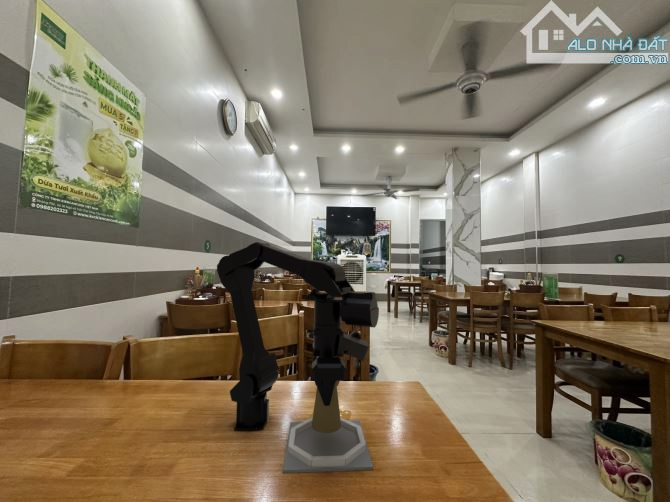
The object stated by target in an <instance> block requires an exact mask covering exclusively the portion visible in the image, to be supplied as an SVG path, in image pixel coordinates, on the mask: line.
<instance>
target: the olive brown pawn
mask: <svg viewBox="0 0 670 502" xmlns="http://www.w3.org/2000/svg"><path fill="white" fill-rule="evenodd" d="M314 384H315V386H316V390H315V391H316V392H315V399H314V405H313V407H314V408H313V413H312V417H313V419H312V428H313V429H314V430H315V431H317V432H320V433H333V432H335V431H337V430H339V429H340V427H341V419H340V417H341V411H340V404H339V403H340V402H339V395H338V387H339V384H340V381H336V382H335V386H334V390H333V394H332V399H331V403H330V405H329V406H325V405H324V403H323V401H322V398H321V396H320V393H319V390H318V388H317V385H316V383H315V382H314Z"/></svg>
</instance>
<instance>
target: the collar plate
mask: <svg viewBox="0 0 670 502" xmlns="http://www.w3.org/2000/svg"><path fill="white" fill-rule="evenodd" d="M312 419H313V416H312V417H309V418H308V419H306V420H304V421H291V422H290V423H289V424H290V425H289V428H288V429H289V430H288V434H287V435H288V437H287V443H286V449H285V455H284V460H283V466H282V474H295V473H296V474H299V473H318V472H319V473H321V472H323V473H325V472H343V471H344V472H345V471H348V472H349V471H352V472H353V471H372V470H374V464H373V461H372V457H371V454H370V450H369V448H368V447H369V446H368V443H367V441H366V437H365V433H364V430H363V426H362V423H361V420H360V419H357V420H356V419H354V420H352V419H351V420H350V419H349V420H347V419H346V418H344V417H341V416H340V419H341V427H340V429H339V430H337V431H335V432H333V433H320V432H317V431H315V430H314V429H313V428H312Z"/></svg>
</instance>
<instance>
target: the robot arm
mask: <svg viewBox="0 0 670 502" xmlns="http://www.w3.org/2000/svg"><path fill="white" fill-rule="evenodd" d="M264 263H266V264H268V265H271V266H274V267H276V268H279V269H282V270H284V271H287V272H289V273H291V274H294V275H296V276H298V277H299V278H301V279H302V280H303V281H304V283H306V284H307V285H309V286H310V287H312V290H311V291H310V292H309V293H308V294H307V295H306V296H304V299H305V301H310V302H311V301H313V305H314V306H313V308H314V309H313V343H312V355H313V356H312V363H311V381H314V384H315V383H316V384H315V386H316V385H317V386H316V389H317V388H318V390H319V393H320V396H321V398H322V401H323V403H324V405H325V406H329V405H330V403H331V399H332V394H333V390H334V386H335V382H336V381H339V382H340V381H344V382H345V381H346V380H347V367H346V363H345V361H344V360H342V358H343V357H345V355H346V356H350V357H352V358H356V359H357V360H358V361H361V362H365V360H366V357H367V354H368V351H369V348H370V345H369V343H368V341H366V340H364V339H362V335H361V333H360V332H358V331H355V330H352V331H351V332H350V333H344V332H345V331H344V330H343V327H342V322H344V323H345V325H346V326H353V327H354V326H355V327H364V328H365V327H366V328H376V327H377V325H378V322H379V317H380V316H379V315H380V308H379V305H378V300H377V298H376V292H375V291H367V292H363V291H362V292H361V291H358V292H357V291H356V290H354V288H353V286H352V285H351V283H350V282H349V281H348V279H347V278H346V277H347V276H346V271H345V269H344V267H343V266H342V265H341V264H340V263H336V262H329V261H324V260H316V259H309V258H306V257H303V256H300V255H298V254H295V253H293V252H289V251H287V250H283V249H281V248H278V247H275V246H272V245H271V244H269V243H264V242H257V241H255V242H253V243H251V244H249V245H247V246H246V247H244V248H241V249H239V250H237V251H234V252H232V253H229V255H223V257H221V258H220V259H219V262H218V263H217V265H216V273H217V274H218V277H219V281H220V283H221V285H222V286H223V287H224V288H225V290H226V291H227V292H228V293H229V294H230V299H231V304H232V308H233V313H234V319H235V323H236V328H237V333H238V336H239V337H238V338H239V341H240V347H241V351H242V358H241V360H240V364H239V367H238V373H239V374H238V375H239V381H238V382H237V383H236V384H235V385H234V386H233V387H232V388H231V389H230V391H229V395H230V400H231V401H232V402H234V403H236V409H235V410H236V414H235V417H236V418H235V424H234V426H233V430H234V431H257V430H258V431H260V430H264V428H265V427H266V426H265V425H266V423H267V422H268V420H269V417H270V400H269V398H268V392H270V391H272V389H273V386H274V384H275V383H276V381H277V380H278V379H279V370H280V367H279V365H278V362H277V356H276V355H277V354H276V353H275V352H273V353H269V351H267V349H266V348H265V344H264V340H263V336H262V331H261V327H260V323H259V319H258V313H257V310H256V304H255V300H254V295H253V291H252V290H253V289H252V288H253V285H254V280H255V271H256V270H258V269H260V268H261V267H262V266H263V264H264ZM344 354H345V355H344Z"/></svg>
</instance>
